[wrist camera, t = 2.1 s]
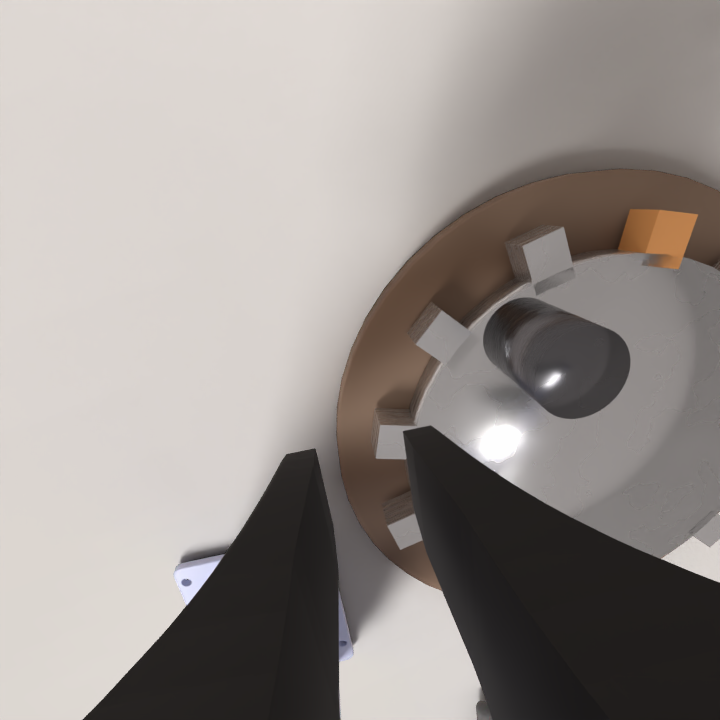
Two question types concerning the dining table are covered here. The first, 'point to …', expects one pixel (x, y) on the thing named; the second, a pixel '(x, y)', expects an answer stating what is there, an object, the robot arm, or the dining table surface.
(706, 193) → the sprocket base
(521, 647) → the robot arm
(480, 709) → the walkie-talkie
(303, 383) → the dining table surface
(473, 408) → the sprocket
